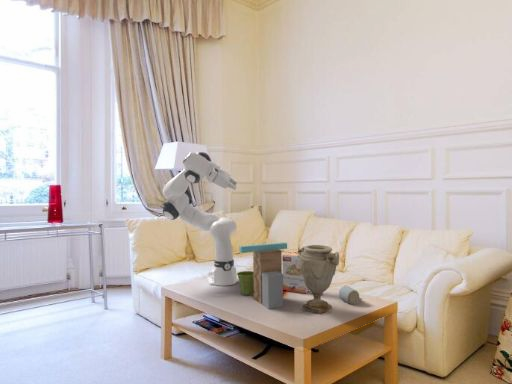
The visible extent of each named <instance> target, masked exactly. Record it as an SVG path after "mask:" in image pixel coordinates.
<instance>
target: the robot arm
mask: <svg viewBox="0 0 512 384" xmlns="http://www.w3.org/2000/svg"><path fill="white" fill-rule="evenodd" d="M211 159H212V158H211V156H210V155H209V154H208V153H207V152H203V151H198V152H193V151H190V152H189V153H187V154H186V156H185V157H184V159H183V160H182V164H183V166H184V169H183V170H181V171H180V172H179V173H178V174H176V175H175V176H174V177H172V178H171V179H170V180H168V182H167V183H166V184H164V186H163V188H162V196H163V198H164V199H166V201H165V202H163V208H162V214H163V216H164V217H166V218H167V219H168V220H172V221H174V220H177V219H178V218H179V219H180V221H182V222H184V223H185V224H187V225H188V226H191V227H193V228H197V229H199V230H201V231H204V232H209V233H210V236H211V237H212V239H213V245H214V261H213V267H212V268H211V270H210V271H209V273H208V275H209V276H208V277H207V281H208V284H209V285H211V286H220V287H222V286H231V285H235V284H236V283H239V279H238V275H237V268H236V267H235V260H234V246H233V245H232V242H231V236H232V235H233V234H234V233H235V232H236V231H237V223H236V222H235V221H234V219H231V218H227V217H224V216H220V215H216V214H212V213H209V212H206V211H203V210H200V209H199V208H194V207H193V206H191V204H193V200H192V193H191V192H190V190H189V189H188V188H189V185H190V184H198V183H200V182H201V181H202V179H203V178H205V179H206V180H207V181H208V182H209V183H211V184H214V185H217V186H219V187H220V188H222V189H227V188H229V189H232V190H234V191H235V190H236V189H237V186H236V185H237V181H235V180H234V179H233V178H231V174H230V173H229V172H226V171H225V170H223V169H221V166H220V165H217V164H216V163H214V162H213V161H212V160H211Z"/></svg>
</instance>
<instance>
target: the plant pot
mask: <svg viewBox="0 0 512 384" xmlns="http://www.w3.org/2000/svg"><path fill="white" fill-rule="evenodd" d="M236 274H237V279H239V281H238V283H239V287H240V288H239V289H240V293H241V295H245V296H252V295H254V277H253V271H252V270H246V271H245V270H243V271H239V272H238V271H237V272H236Z"/></svg>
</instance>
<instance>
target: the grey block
mask: <svg viewBox="0 0 512 384" xmlns="http://www.w3.org/2000/svg"><path fill="white" fill-rule="evenodd" d="M261 305H262V306H264V307H265V308H266V309H268V310H271V309H277V308H283V307H284V291H283V273H282V274H281V273H279V272H277V271H273V272H265V273H262V304H261Z"/></svg>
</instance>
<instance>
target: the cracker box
mask: <svg viewBox="0 0 512 384" xmlns="http://www.w3.org/2000/svg"><path fill="white" fill-rule="evenodd" d="M298 255H299V254H298V253H294V252H285V253H282V274H283V288H286V290H287V291H286V292H292V293H297V294H298V293H299V294H307V293H308V292H309V291H310V290H309V289H308V288H307V287H306V285H305V283H304V279H303V276H302V274H301V272H300V265H299V257H298Z"/></svg>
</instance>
